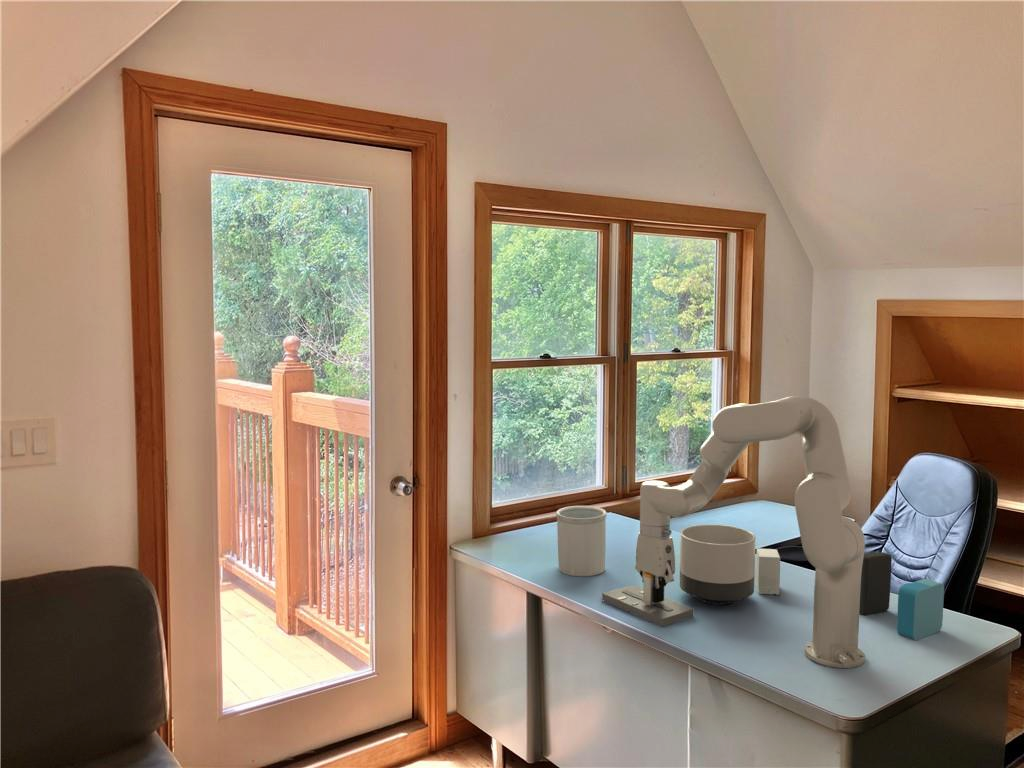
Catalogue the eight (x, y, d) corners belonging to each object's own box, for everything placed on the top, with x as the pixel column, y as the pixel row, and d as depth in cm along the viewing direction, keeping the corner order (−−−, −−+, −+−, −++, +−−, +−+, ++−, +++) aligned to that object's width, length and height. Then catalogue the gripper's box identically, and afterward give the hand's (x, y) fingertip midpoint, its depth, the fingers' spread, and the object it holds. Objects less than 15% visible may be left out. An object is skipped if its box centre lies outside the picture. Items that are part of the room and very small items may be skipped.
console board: (693, 616, 210) (693, 608, 210) (662, 626, 204) (662, 618, 204) (632, 591, 228) (632, 584, 228) (602, 600, 222) (602, 592, 221)
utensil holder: (551, 575, 242) (551, 516, 240) (560, 559, 256) (561, 504, 254) (602, 579, 238) (602, 519, 236) (608, 563, 253) (609, 506, 251)
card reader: (879, 606, 217) (881, 550, 215) (891, 611, 213) (893, 554, 212) (851, 611, 214) (853, 554, 212) (863, 616, 210) (865, 558, 208)
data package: (924, 624, 205) (926, 577, 204) (942, 630, 201) (944, 582, 200) (895, 635, 198) (898, 586, 197) (913, 641, 195) (916, 592, 193)
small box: (779, 595, 225) (780, 557, 224) (758, 594, 226) (759, 556, 225) (776, 585, 233) (777, 548, 232) (755, 584, 234) (756, 547, 233)
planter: (753, 589, 229) (755, 526, 228) (754, 615, 211) (755, 547, 209) (682, 583, 235) (683, 522, 233) (676, 608, 216) (677, 541, 214)
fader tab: (664, 601, 214) (664, 571, 213) (650, 605, 211) (650, 575, 210) (657, 598, 216) (657, 569, 215) (643, 602, 213) (643, 572, 212)
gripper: (688, 534, 207) (687, 606, 209) (642, 520, 220) (642, 588, 222) (667, 539, 203) (666, 612, 205) (622, 525, 216) (621, 594, 218)
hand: (653, 599), depth 214 cm, fingers closed on fader tab, 2 cm apart
